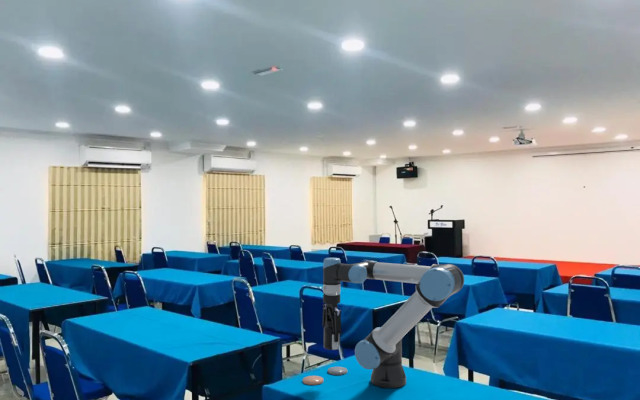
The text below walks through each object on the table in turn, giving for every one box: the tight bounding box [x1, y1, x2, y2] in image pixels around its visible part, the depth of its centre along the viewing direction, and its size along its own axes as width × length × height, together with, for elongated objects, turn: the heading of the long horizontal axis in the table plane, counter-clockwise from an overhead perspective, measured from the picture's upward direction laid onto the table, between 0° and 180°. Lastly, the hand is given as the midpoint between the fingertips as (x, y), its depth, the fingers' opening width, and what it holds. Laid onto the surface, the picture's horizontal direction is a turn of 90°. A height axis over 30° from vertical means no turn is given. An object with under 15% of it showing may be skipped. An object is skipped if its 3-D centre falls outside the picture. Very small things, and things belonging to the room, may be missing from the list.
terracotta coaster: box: [302, 375, 324, 386], centre depth 212 cm, size 9×9×1 cm
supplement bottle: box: [323, 319, 337, 351], centre depth 212 cm, size 7×7×12 cm
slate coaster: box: [327, 366, 348, 376], centre depth 224 cm, size 9×9×1 cm
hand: (331, 346), depth 212 cm, fingers closed on supplement bottle, 7 cm apart
